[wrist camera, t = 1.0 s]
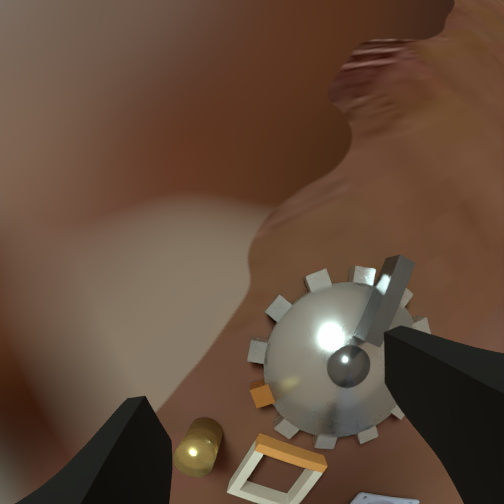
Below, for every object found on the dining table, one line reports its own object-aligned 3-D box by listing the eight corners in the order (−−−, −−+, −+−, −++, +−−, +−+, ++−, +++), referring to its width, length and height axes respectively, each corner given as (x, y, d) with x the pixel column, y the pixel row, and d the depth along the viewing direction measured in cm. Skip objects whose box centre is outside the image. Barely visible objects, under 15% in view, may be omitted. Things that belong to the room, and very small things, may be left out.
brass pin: (228, 426, 25) (219, 457, 19) (215, 449, 25) (203, 482, 19) (197, 412, 26) (181, 439, 20) (185, 435, 25) (167, 465, 19)
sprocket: (450, 298, 25) (478, 298, 20) (370, 456, 24) (385, 480, 19) (304, 224, 27) (312, 211, 22) (219, 401, 25) (209, 423, 20)
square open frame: (324, 455, 24) (327, 466, 22) (290, 500, 24) (291, 512, 22) (259, 433, 25) (258, 443, 23) (229, 480, 24) (226, 492, 22)
